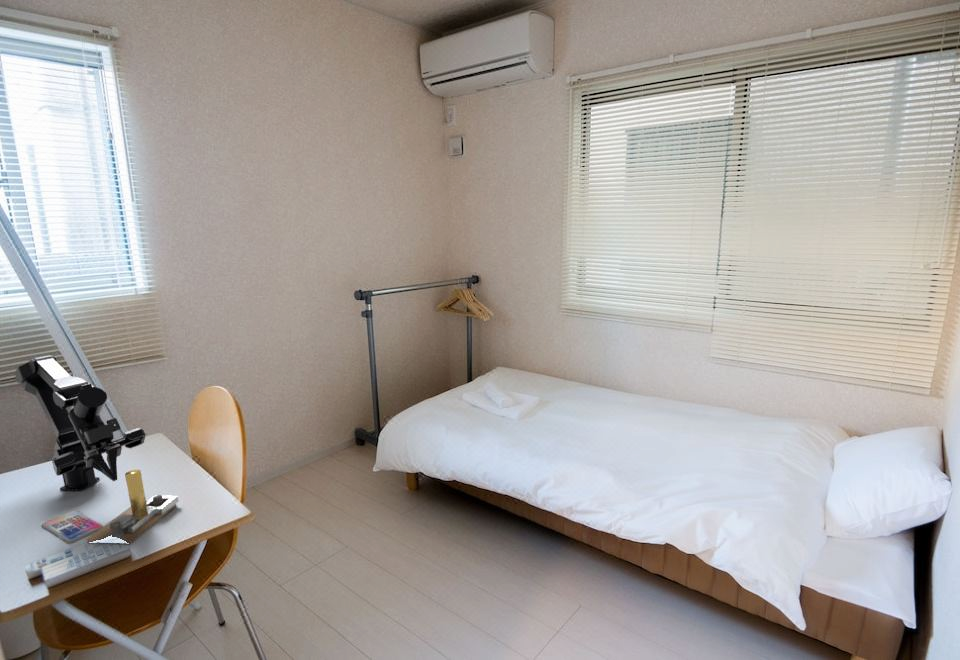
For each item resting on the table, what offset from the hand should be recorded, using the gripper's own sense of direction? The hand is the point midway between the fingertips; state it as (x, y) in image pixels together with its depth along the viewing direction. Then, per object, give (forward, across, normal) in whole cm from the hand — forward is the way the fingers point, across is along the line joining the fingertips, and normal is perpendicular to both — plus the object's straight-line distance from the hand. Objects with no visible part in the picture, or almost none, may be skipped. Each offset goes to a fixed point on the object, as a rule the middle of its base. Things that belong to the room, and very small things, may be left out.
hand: (115, 480), depth 127 cm
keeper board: (+12, 0, -1) cm, 12 cm away
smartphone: (+5, -10, +7) cm, 13 cm away
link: (+12, +2, -3) cm, 13 cm away
